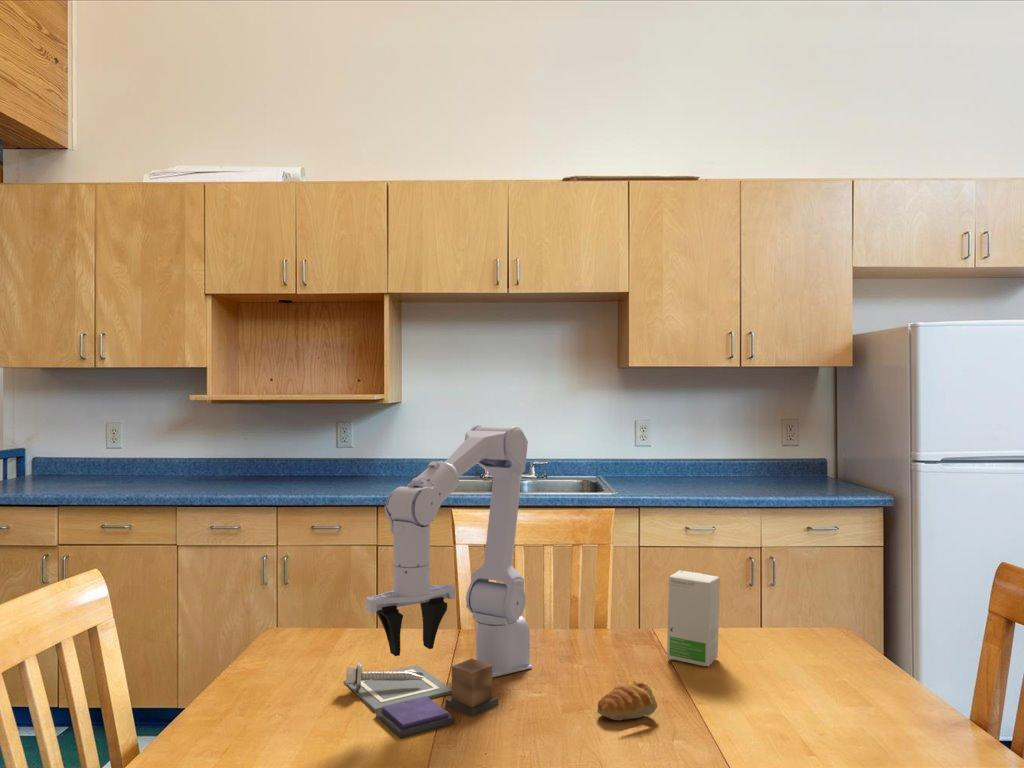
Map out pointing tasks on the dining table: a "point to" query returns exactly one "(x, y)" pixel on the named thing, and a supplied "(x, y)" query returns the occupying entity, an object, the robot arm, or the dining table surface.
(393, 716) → the ink pad
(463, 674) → the stamp
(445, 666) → the dining table surface
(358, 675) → the screw
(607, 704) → the pastry
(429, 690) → the marked board
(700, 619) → the skincare box
